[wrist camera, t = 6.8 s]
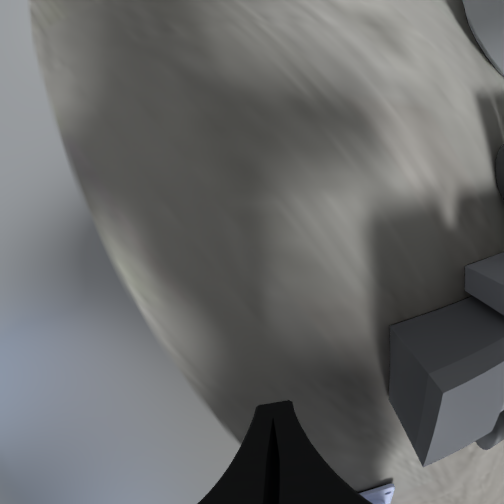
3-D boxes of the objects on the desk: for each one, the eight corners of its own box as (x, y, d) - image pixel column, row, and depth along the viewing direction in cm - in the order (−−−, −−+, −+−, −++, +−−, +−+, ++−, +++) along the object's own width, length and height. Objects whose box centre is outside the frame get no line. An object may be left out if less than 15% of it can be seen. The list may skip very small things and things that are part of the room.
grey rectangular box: (503, 347, 11) (549, 387, 7) (388, 399, 12) (423, 467, 7) (513, 277, 10) (573, 309, 6) (389, 325, 11) (443, 393, 6)
